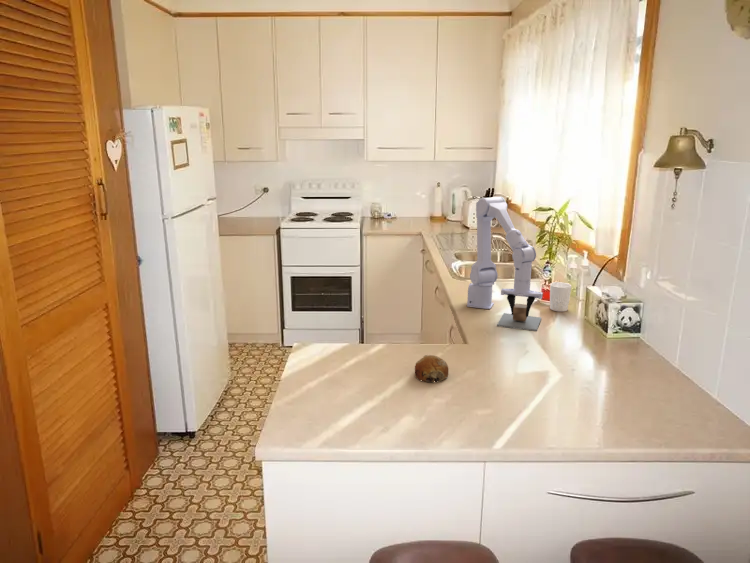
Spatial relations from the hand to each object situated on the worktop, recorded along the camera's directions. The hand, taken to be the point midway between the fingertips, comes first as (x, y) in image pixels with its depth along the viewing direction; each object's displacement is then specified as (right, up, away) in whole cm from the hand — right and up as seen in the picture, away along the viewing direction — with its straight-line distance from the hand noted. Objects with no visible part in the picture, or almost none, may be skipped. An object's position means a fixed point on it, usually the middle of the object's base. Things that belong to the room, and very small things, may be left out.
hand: (520, 315), depth 208 cm
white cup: (+19, +1, +16) cm, 25 cm away
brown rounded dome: (-37, -16, -43) cm, 59 cm away
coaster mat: (0, -3, +1) cm, 3 cm away
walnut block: (0, -1, +1) cm, 2 cm away
